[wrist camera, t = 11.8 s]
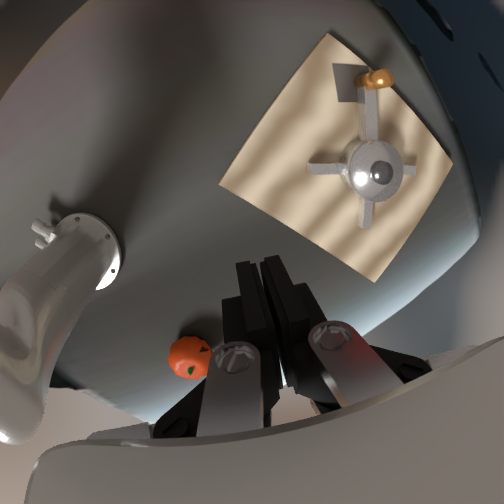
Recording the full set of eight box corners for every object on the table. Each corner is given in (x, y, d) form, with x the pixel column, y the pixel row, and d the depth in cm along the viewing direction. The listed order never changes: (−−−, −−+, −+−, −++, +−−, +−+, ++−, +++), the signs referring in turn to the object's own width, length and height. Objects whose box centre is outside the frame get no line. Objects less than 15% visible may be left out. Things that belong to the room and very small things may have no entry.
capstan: (405, 221, 38) (428, 235, 33) (307, 229, 37) (323, 247, 31) (408, 85, 29) (434, 82, 24) (302, 69, 28) (318, 57, 22)
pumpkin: (182, 363, 48) (180, 393, 41) (163, 334, 44) (157, 364, 38) (219, 354, 48) (221, 385, 41) (202, 323, 44) (201, 354, 38)
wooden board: (218, 181, 35) (218, 184, 33) (322, 37, 28) (328, 32, 26) (369, 277, 45) (374, 283, 43) (445, 161, 37) (453, 164, 35)
